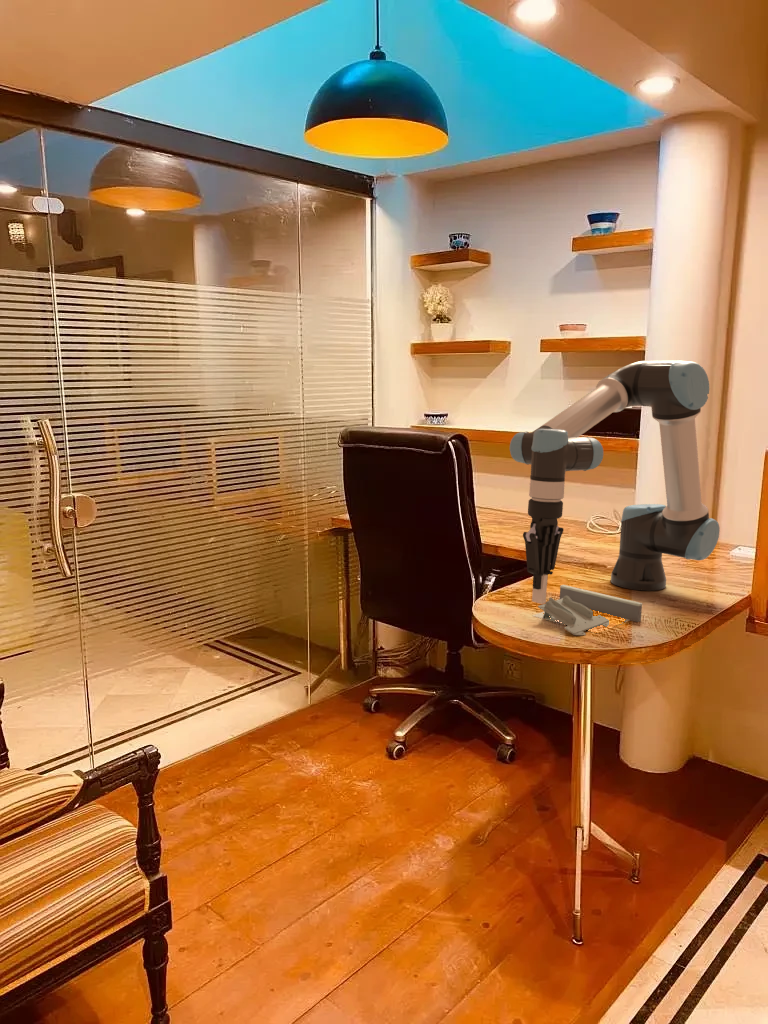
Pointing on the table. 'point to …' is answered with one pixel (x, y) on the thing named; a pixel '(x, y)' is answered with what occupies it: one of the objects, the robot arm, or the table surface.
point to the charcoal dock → (600, 604)
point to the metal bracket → (573, 615)
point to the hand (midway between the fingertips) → (538, 602)
